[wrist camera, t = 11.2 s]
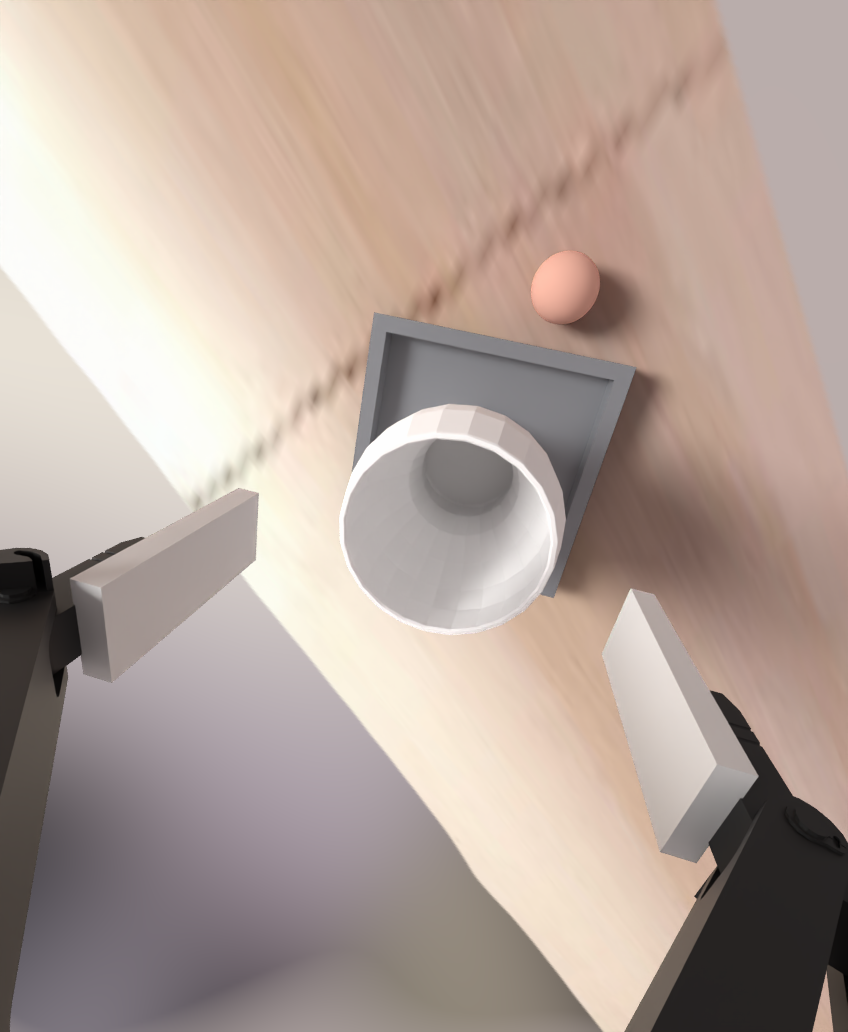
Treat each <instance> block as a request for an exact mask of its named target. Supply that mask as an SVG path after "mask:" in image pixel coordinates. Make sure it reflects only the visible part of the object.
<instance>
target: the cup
mask: <svg viewBox="0 0 848 1032" xmlns="http://www.w3.org/2000/svg"><path fill="white" fill-rule="evenodd" d="M339 518H340V543H341V547H342V550H343V554H344V557H345V560H346V564H347V567H348V569H349V570H350V572H351V574H352V575H353V577H354V579H355V580H356V582H357V584H358V585H359V587H360V589H361V590H362V591H363V592H364V593H365V594H366V595H367V596H368V597H369V598H370V599H371V600H372V601H373V602H374V603H375V604H376V606H377V607H378V608H380V609H381V610H383V611H384V612H386V613H387V614H389V615H391V616H392V617H394V618H395V619H397V620H398V621H400V622H402V623H405V624H407V625H410V626H412V627H415V628H418V629H420V630H423V631H427V632H434V633H440V634H447V635H457V634H471V633H478V632H482V631H485V630H488V629H491V628H494V627H497V626H500V625H503V624H504V623H506V622H508V621H509V620H511V619H512V618H514V617H516V616H517V615H519V614H520V613H522V612H524V611H525V610H526V609H527V608H528V607H529V606H530V604H531V603H532V602H533V601H534V600H535V599H536V598H537V597H538V596H539V595H540V594H541V593H542V591H543V589H544V587H545V585H546V583H547V581H548V579H549V577H550V575H551V573H552V571H553V570H554V567H555V564H556V561H557V558H558V555H559V552H560V549H561V545H562V539H563V533H564V528H565V522H566V516H565V508H564V499H563V491H562V489H561V486H560V484H559V481H558V479H557V476H556V474H555V472H554V469H553V467H552V465H551V462H550V460H549V458H548V455H547V453H546V452H545V451H544V450H543V449H542V447H541V446H540V445H539V444H538V442H537V441H536V440H535V439H534V438H533V436H532V435H531V434H530V433H529V432H528V431H527V430H525V429H524V428H522V427H521V426H520V425H518V424H517V423H515V422H514V421H512V420H511V419H509V418H508V417H507V416H505V415H502V414H499V413H497V412H494V411H491V410H488V409H485V408H482V407H479V406H472V405H457V404H446V405H441V406H436V407H432V408H427V409H422V410H420V411H418V412H416V413H414V414H412V415H410V416H408V417H406V418H404V419H402V420H400V421H398V422H396V423H395V424H393V425H392V426H390V427H389V428H387V429H386V430H385V431H384V432H383V433H382V434H381V435H380V436H379V437H378V438H377V439H375V440H374V441H373V442H372V443H371V444H370V445H369V446H368V447H367V448H366V450H365V451H364V453H363V455H362V456H361V458H360V460H359V461H358V463H357V465H356V467H355V468H354V470H353V472H352V475H351V478H350V481H349V484H348V487H347V490H346V493H345V497H344V501H343V505H342V509H341V512H340V516H339Z"/></svg>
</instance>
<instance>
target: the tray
mask: <svg viewBox="0 0 848 1032" xmlns="http://www.w3.org/2000/svg"><path fill="white" fill-rule="evenodd" d="M635 370H636V367H633V366H628V365H623V364H618V363H614V362H609V361H604V360H599V359H594V358H590V357H585V356H580V355H575V354H571V353H566V352H561V351H556V350H551V349H547V348H542V347H537V346H532V345H527V344H523V343H518V342H513V341H508V340H504V339H499V338H494V337H489V336H484V335H480V334H475V333H470V332H465V331H460V330H456V329H451V328H446V327H441V326H437V325H432V324H427V323H422V322H417V321H413V320H408V319H403V318H398V317H394V316H389V315H384V314H379V313H374V317H373V324H372V332H371V339H370V346H369V353H368V360H367V367H366V375H365V382H364V389H363V396H362V403H361V411H360V418H359V425H358V432H357V439H356V447H355V454H354V461H353V468H352V472H353V470H354V468H355V467H356V465H357V463H358V461H359V460H360V458H361V456H362V455H363V453H364V451H365V450H366V448H367V447H368V446H369V445H370V444H371V443H372V442H373V441H374V440H375V439H377V438H378V437H379V436H380V435H381V434H382V433H383V432H384V431H385V430H386V429H387V428H389V427H390V426H392V425H393V424H395V423H396V422H398V421H400V420H402V419H404V418H406V417H408V416H410V415H412V414H414V413H416V412H418V411H420V410H422V409H427V408H432V407H436V406H441V405H446V404H457V405H472V406H479V407H482V408H485V409H488V410H491V411H494V412H497V413H499V414H502V415H505V416H507V417H508V418H509V419H511V420H512V421H514V422H515V423H517V424H518V425H520V426H521V427H522V428H524V429H525V430H527V431H528V432H529V433H530V434H531V435H532V436H533V438H534V439H535V440H536V441H537V442H538V444H539V445H540V446H541V447H542V449H543V450H544V451H545V452H546V453H547V455H548V458H549V460H550V462H551V465H552V467H553V469H554V472H555V474H556V476H557V479H558V481H559V484H560V486H561V489H562V491H563V499H564V508H565V516H566V522H565V528H564V533H563V539H562V545H561V549H560V552H559V555H558V558H557V561H556V564H555V567H554V570H553V571H552V573H551V575H550V577H549V579H548V581H547V583H546V585H545V587H544V589H543V591H542V593H541V595H544V596H548V597H552V598H554V596H555V593H556V590H557V587H558V584H559V582H560V579H561V576H562V573H563V571H564V568H565V565H566V562H567V559H568V557H569V554H570V551H571V548H572V545H573V543H574V540H575V537H576V534H577V532H578V529H579V526H580V523H581V520H582V518H583V515H584V512H585V509H586V506H587V504H588V501H589V498H590V495H591V493H592V490H593V487H594V484H595V481H596V479H597V476H598V473H599V470H600V468H601V465H602V462H603V459H604V456H605V454H606V451H607V448H608V445H609V442H610V440H611V437H612V434H613V431H614V429H615V426H616V423H617V420H618V417H619V415H620V412H621V409H622V406H623V403H624V401H625V398H626V395H627V392H628V390H629V387H630V384H631V381H632V378H633V376H634V373H635Z"/></svg>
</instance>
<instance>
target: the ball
mask: <svg viewBox="0 0 848 1032" xmlns="http://www.w3.org/2000/svg"><path fill="white" fill-rule="evenodd" d="M599 288H600V277H599V272H598V269H597V267H596V265H595V263H594V262H593V261H592V260H591V259H590V258H589V257H588V256H587V255H585V254H583V253H581V252H578V251H572V250H570V251H562V252H559V253H556V254H554V255H552V256H551V257H549V258H548V259H547V260H546V261H545V262H544V263H543V264H542V265H541V266H540V267H539V269H538V270H537V272H536V274H535V276H534V278H533V282H532V286H531V298H532V303H533V306H534V308H535V310H536V311H537V313H538V314H539V315H540V316H541V317H542V318H543V319H544V320H546V321H548V322H550V323H554V324H568V323H572V322H574V321H577V320H578V319H580V318H581V317H583V316H584V315H585V314H586V313H587V312H588V311H589V310H590V309H591V308H592V306H593V305H594V303H595V301H596V299H597V296H598V293H599Z"/></svg>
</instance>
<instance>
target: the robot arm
mask: <svg viewBox="0 0 848 1032" xmlns="http://www.w3.org/2000/svg"><path fill="white" fill-rule="evenodd" d="M258 497H259V493H256V492H252V491H248V490H244V489H240V488H238V489H236V490H234V491H232V492H231V493H229V494H227V495H225V496H223V497H221V498H219V499H218V500H216V501H214V502H212V503H210V504H208V505H206V506H204V507H203V508H201V509H199V510H197V511H195V512H193V513H191V514H190V515H188V516H186V517H184V518H182V519H180V520H178V521H177V522H175V523H173V524H171V525H169V526H167V527H166V528H163V529H162V530H160V531H158V532H156V533H154V534H152V535H150V536H148V537H147V538H144V537H140V538H136V539H133V540H129V541H125V542H121V543H119V544H118V545H116V546H114V547H112V548H110V549H108V550H106V551H105V553H103V552H102V553H100V554H98V555H96V556H94V557H92V560H90V559H88V560H86V561H84V562H82V563H81V564H79V565H77V566H75V567H73V568H71V569H69V570H67V571H65V572H63V573H61V574H59V575H57V576H55V577H54V578H52V575H51V569H50V563H49V557H48V554H46V553H45V552H43V551H41V550H37V549H32V548H12V549H5V550H0V1032H10V1014H11V1006H12V999H13V994H14V988H15V982H16V976H17V971H18V965H19V959H20V953H21V947H22V941H23V936H24V930H25V923H26V918H27V912H28V907H29V901H30V895H31V889H32V883H33V878H34V872H35V866H36V860H37V854H38V849H39V843H40V837H41V831H42V825H43V819H44V814H45V808H46V802H47V796H48V791H49V785H50V779H51V773H52V767H53V762H54V756H55V750H56V744H57V738H58V733H59V727H60V721H61V715H62V709H63V704H64V698H65V692H66V686H67V680H68V673H67V667H66V665H68V664H69V663H71V662H72V661H73V660H75V659H76V658H77V657H78V656H80V655H81V660H82V667H83V674H85V675H88V676H92V677H94V678H98V679H101V680H104V681H107V682H111V683H112V682H113V681H114V680H116V679H117V678H118V677H119V676H120V675H121V674H123V673H124V672H125V671H126V670H127V669H128V668H130V667H131V666H132V665H133V664H134V663H135V662H137V661H138V660H139V659H140V658H141V657H142V656H144V655H145V654H146V653H147V652H148V651H149V650H151V649H152V648H153V647H154V646H155V645H157V644H158V643H159V642H160V641H161V640H162V639H164V638H165V637H166V636H167V635H168V634H169V633H171V632H172V631H173V630H174V629H175V628H176V627H178V626H179V625H180V624H181V623H182V622H183V621H185V620H186V619H187V618H188V617H189V616H190V615H192V614H193V613H194V612H195V611H196V610H198V609H199V608H200V607H201V606H202V605H203V604H205V603H206V602H207V601H208V600H209V599H210V598H212V597H213V596H214V595H215V594H216V593H217V592H218V591H220V590H221V589H222V588H223V587H225V586H226V585H227V584H228V583H229V582H230V581H232V580H233V579H234V578H235V577H236V576H237V575H239V574H240V573H241V572H242V571H243V570H244V569H246V568H247V567H248V566H249V565H250V564H251V563H253V562H254V561H255V560H256V539H257V518H258ZM602 656H603V660H604V663H605V666H606V670H607V673H608V677H609V680H610V683H611V687H612V690H613V694H614V697H615V700H616V704H617V707H618V711H619V714H620V717H621V721H622V724H623V728H624V731H625V734H626V738H627V741H628V745H629V748H630V751H631V755H632V758H633V762H634V765H635V768H636V772H637V775H638V779H639V782H640V785H641V789H642V792H643V796H644V799H645V802H646V806H647V809H648V813H649V816H650V819H651V823H652V826H653V830H654V833H655V836H656V840H657V843H658V847H659V850H660V852H662V853H665V854H669V855H672V856H675V857H678V858H682V859H685V860H688V861H691V862H694V863H697V862H698V860H699V859H700V857H701V856H702V855H703V853H704V852H705V850H706V849H707V848H708V846H710V848H711V851H712V853H713V856H714V858H715V861H716V863H717V867H716V868H715V870H714V871H713V872H712V874H711V875H710V876H709V878H708V879H707V880H706V882H705V883H704V884H703V885H702V887H701V888H700V889H699V891H698V892H697V893H696V895H695V896H694V897H695V898H697V900H696V902H695V904H694V906H693V908H692V909H691V911H690V913H689V915H688V917H687V918H686V920H685V922H684V924H683V926H682V928H681V929H680V931H679V933H678V935H677V937H676V939H675V940H674V942H673V944H672V946H671V948H670V950H669V951H668V953H667V955H666V957H665V959H664V960H663V962H662V964H661V966H660V968H659V970H658V971H657V973H656V975H655V977H654V979H653V981H652V982H651V984H650V986H649V988H648V990H647V992H646V993H645V995H644V997H643V999H642V1001H641V1002H640V1004H639V1006H638V1008H637V1010H636V1012H635V1013H634V1015H633V1017H632V1019H631V1021H630V1023H629V1024H628V1026H627V1028H626V1030H625V1032H812V1030H813V1026H814V1022H815V1017H816V1013H817V1009H818V1005H819V1000H820V996H821V992H822V987H823V983H824V979H825V975H826V970H827V979H828V988H829V996H830V1005H831V1014H832V1023H833V1031H834V1032H848V843H847V841H846V839H845V837H844V836H843V834H842V833H841V832H840V831H839V830H838V829H837V827H836V826H835V825H834V824H833V823H832V822H831V821H830V820H829V819H828V818H827V817H825V816H824V815H823V814H822V813H821V812H819V811H818V810H817V809H816V808H814V807H813V806H811V805H809V804H808V803H806V802H804V801H803V800H801V799H799V798H796V797H794V796H793V795H792V794H791V792H790V791H789V789H788V787H787V786H786V784H785V782H784V781H783V779H782V778H781V776H780V774H779V773H778V771H777V770H776V768H775V766H774V765H773V763H772V762H771V760H770V758H769V757H768V755H767V754H766V752H765V750H764V749H763V747H761V746H760V742H759V741H758V739H757V738H756V736H755V734H754V733H753V732H751V730H750V729H751V728H750V726H749V725H748V723H747V722H746V720H745V718H744V717H743V715H742V714H741V712H740V711H739V710H738V709H737V708H736V707H735V706H734V705H733V704H732V703H731V702H730V701H729V700H728V699H727V698H726V697H725V696H724V695H723V694H721V693H718V692H714V691H710V690H709V689H708V687H707V685H706V684H705V682H704V680H703V678H702V677H701V675H700V673H699V671H698V670H697V668H696V666H695V664H694V663H693V661H692V659H691V657H690V656H689V654H688V652H687V650H686V649H685V647H684V645H683V643H682V642H681V640H680V638H679V636H678V635H677V633H676V631H675V629H674V628H673V626H672V624H671V622H670V621H669V619H668V617H667V615H666V614H665V612H664V610H663V608H662V607H661V605H660V603H659V601H658V600H657V598H656V596H655V594H652V593H648V592H644V591H640V590H636V589H632V588H631V589H630V591H629V593H628V595H627V598H626V600H625V602H624V605H623V607H622V609H621V611H620V614H619V616H618V618H617V620H616V623H615V625H614V627H613V629H612V632H611V634H610V636H609V638H608V641H607V643H606V645H605V648H604V650H603V652H602Z"/></svg>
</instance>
